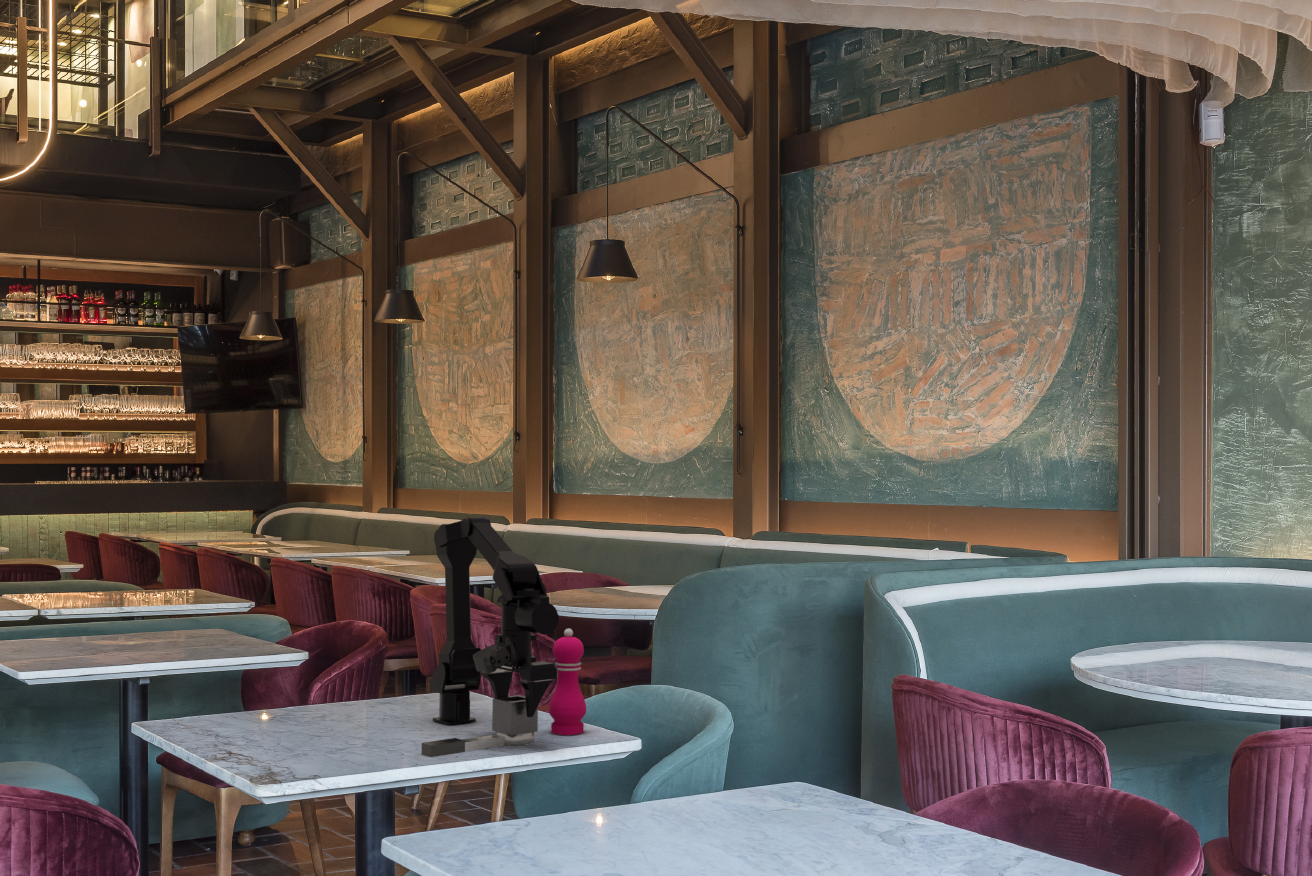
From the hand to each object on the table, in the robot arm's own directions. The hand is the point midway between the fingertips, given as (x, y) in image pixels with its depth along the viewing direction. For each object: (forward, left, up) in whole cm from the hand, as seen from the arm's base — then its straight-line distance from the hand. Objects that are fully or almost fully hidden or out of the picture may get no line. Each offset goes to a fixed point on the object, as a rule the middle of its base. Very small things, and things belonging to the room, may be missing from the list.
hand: (515, 713), depth 237 cm
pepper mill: (-1, +13, -5) cm, 14 cm away
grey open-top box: (0, 0, -3) cm, 3 cm away
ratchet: (0, -8, -5) cm, 9 cm away
